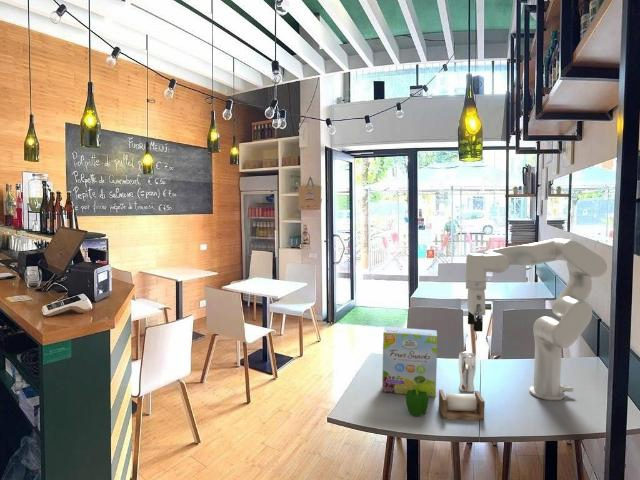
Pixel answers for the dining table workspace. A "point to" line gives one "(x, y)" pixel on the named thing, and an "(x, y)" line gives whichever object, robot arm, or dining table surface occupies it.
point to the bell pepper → (417, 401)
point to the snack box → (409, 360)
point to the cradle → (462, 414)
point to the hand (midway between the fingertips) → (474, 327)
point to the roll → (461, 402)
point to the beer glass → (467, 371)
